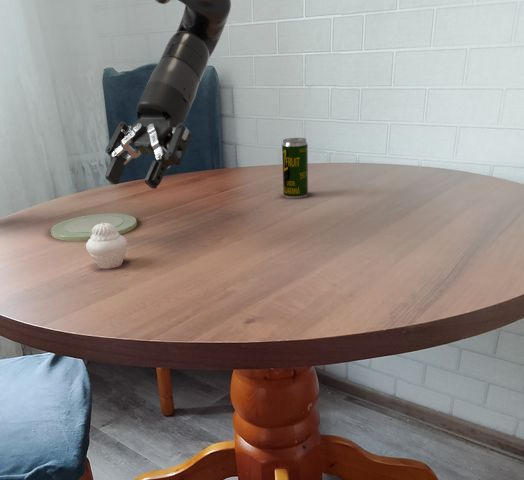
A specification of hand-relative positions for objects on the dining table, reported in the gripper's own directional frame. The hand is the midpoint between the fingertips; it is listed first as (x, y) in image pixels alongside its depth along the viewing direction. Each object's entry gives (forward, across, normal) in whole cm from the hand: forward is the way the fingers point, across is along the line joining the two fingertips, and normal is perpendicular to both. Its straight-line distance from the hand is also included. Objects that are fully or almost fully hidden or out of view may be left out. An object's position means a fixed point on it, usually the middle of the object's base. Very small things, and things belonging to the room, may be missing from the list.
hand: (129, 183), depth 84 cm
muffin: (+13, 0, +3) cm, 13 cm away
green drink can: (-23, +5, +39) cm, 46 cm away
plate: (+3, -19, +13) cm, 23 cm away
